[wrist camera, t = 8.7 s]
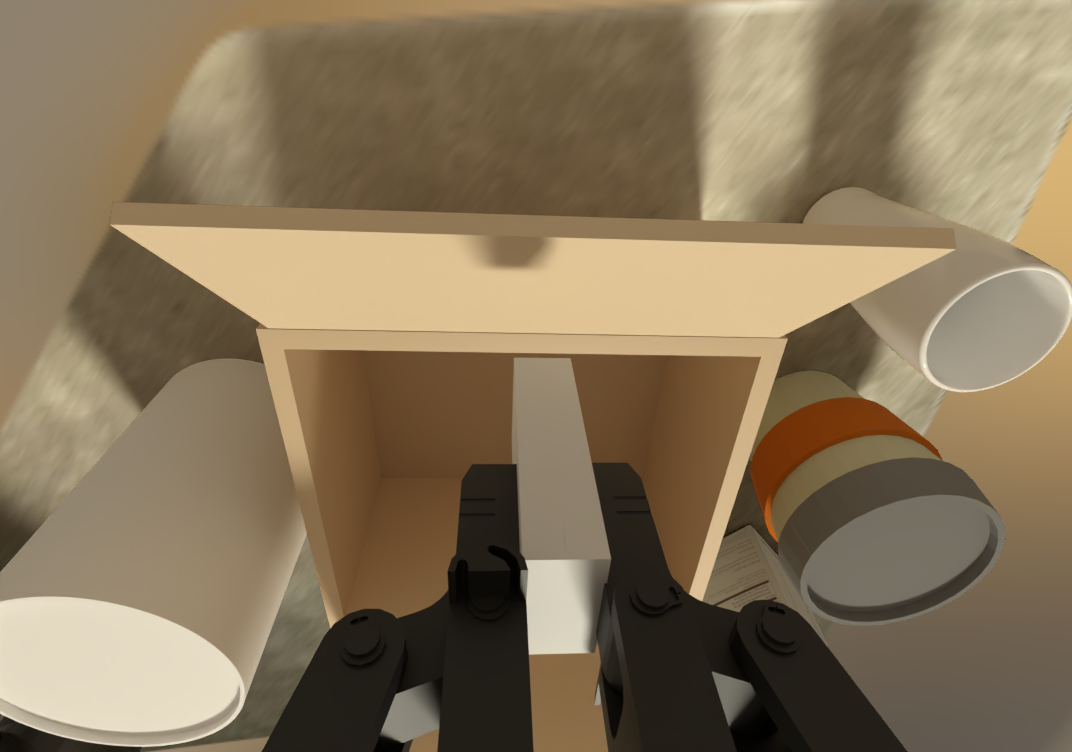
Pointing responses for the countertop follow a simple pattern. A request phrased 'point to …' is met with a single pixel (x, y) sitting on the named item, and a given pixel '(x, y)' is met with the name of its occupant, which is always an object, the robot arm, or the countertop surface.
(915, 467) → the reusable coffee cup
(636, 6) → the countertop surface
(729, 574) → the supplement box
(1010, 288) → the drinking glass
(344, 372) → the carton
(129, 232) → the flap
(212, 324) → the countertop surface
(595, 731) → the flap
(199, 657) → the canister
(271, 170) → the countertop surface
